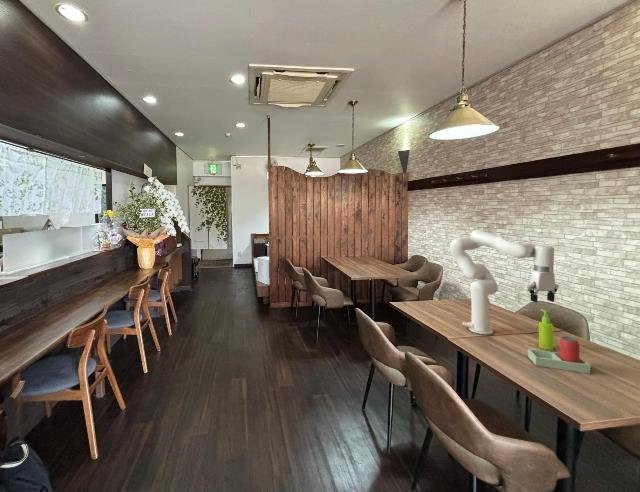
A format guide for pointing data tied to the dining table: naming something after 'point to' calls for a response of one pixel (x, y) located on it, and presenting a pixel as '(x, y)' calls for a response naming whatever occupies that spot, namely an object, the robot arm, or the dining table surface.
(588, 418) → the dining table surface
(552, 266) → the robot arm
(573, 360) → the beer can
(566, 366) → the divided tray
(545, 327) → the soap dispenser
